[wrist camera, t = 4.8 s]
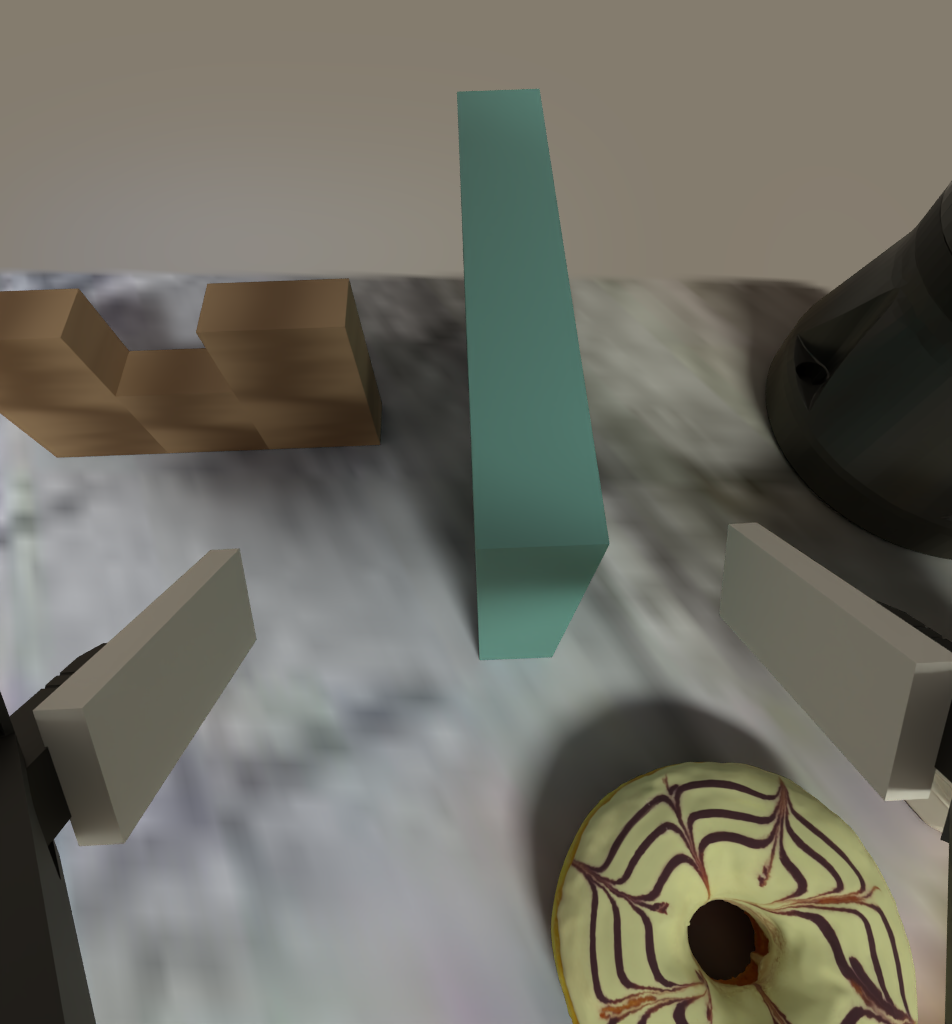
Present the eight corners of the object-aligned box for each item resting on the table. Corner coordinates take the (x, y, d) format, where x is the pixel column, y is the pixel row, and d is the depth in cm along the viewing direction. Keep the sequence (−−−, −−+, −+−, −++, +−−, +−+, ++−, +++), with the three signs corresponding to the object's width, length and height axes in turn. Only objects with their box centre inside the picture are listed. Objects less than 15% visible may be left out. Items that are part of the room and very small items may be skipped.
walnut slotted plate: (381, 404, 29) (348, 278, 22) (380, 444, 28) (344, 326, 21) (71, 416, 29) (-64, 293, 22) (56, 457, 28) (-90, 343, 21)
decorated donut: (936, 1049, 18) (1040, 1109, 15) (634, 1210, 17) (673, 1318, 13) (758, 723, 22) (808, 712, 19) (506, 828, 21) (510, 836, 18)
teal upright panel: (552, 657, 24) (609, 544, 13) (479, 660, 24) (476, 549, 13) (520, 329, 31) (539, 88, 21) (466, 331, 31) (457, 91, 21)
